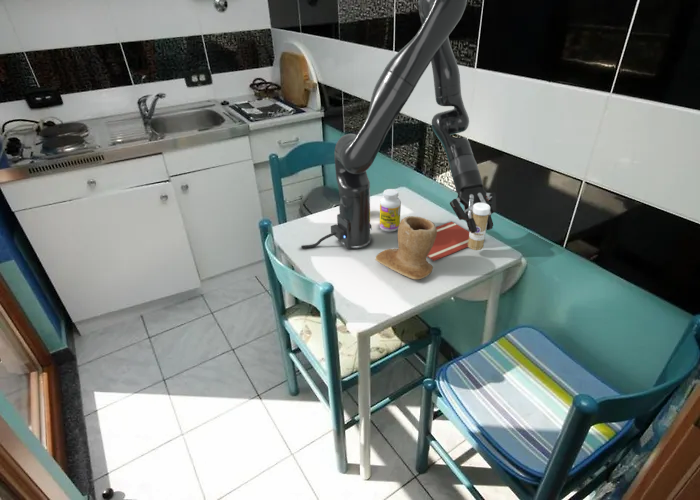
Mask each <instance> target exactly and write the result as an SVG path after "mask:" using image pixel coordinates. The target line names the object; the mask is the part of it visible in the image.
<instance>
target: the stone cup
mask: <svg viewBox="0 0 700 500" xmlns="http://www.w3.org/2000/svg"><path fill="white" fill-rule="evenodd" d="M436 227H437V226H436V224H435V223H434V222H433V221H431V220H429V219H427V218H425V217H421V216H415V215H414V216H413V215H409V216H405V217H403V218H402V219H401V220H400V224H399V227H398V229H397V246H398V248H387V249H385V250H382V251H381V252H379V253H378V254H377V255H376V256H375V259H374V260H375V261H376V262H378V263H380V264H381V265H383V266H385V267H386V268H388V269H389V270H392V271H393V272H395V273H398V274H400V275H402V276H404V277H406V278H408V279H412V280H415V281H416V280H422V279H424V278H426V277H428V276H429V275H430V274H432V272H433V268H434V267H433V265H432V263H430V262H429V261H428V260H427V258H428V257H427V255H428V254H429V252H430V250H431V249H432V247H433V244H434V242H435V239H436V235H437V229H436Z"/></svg>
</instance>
